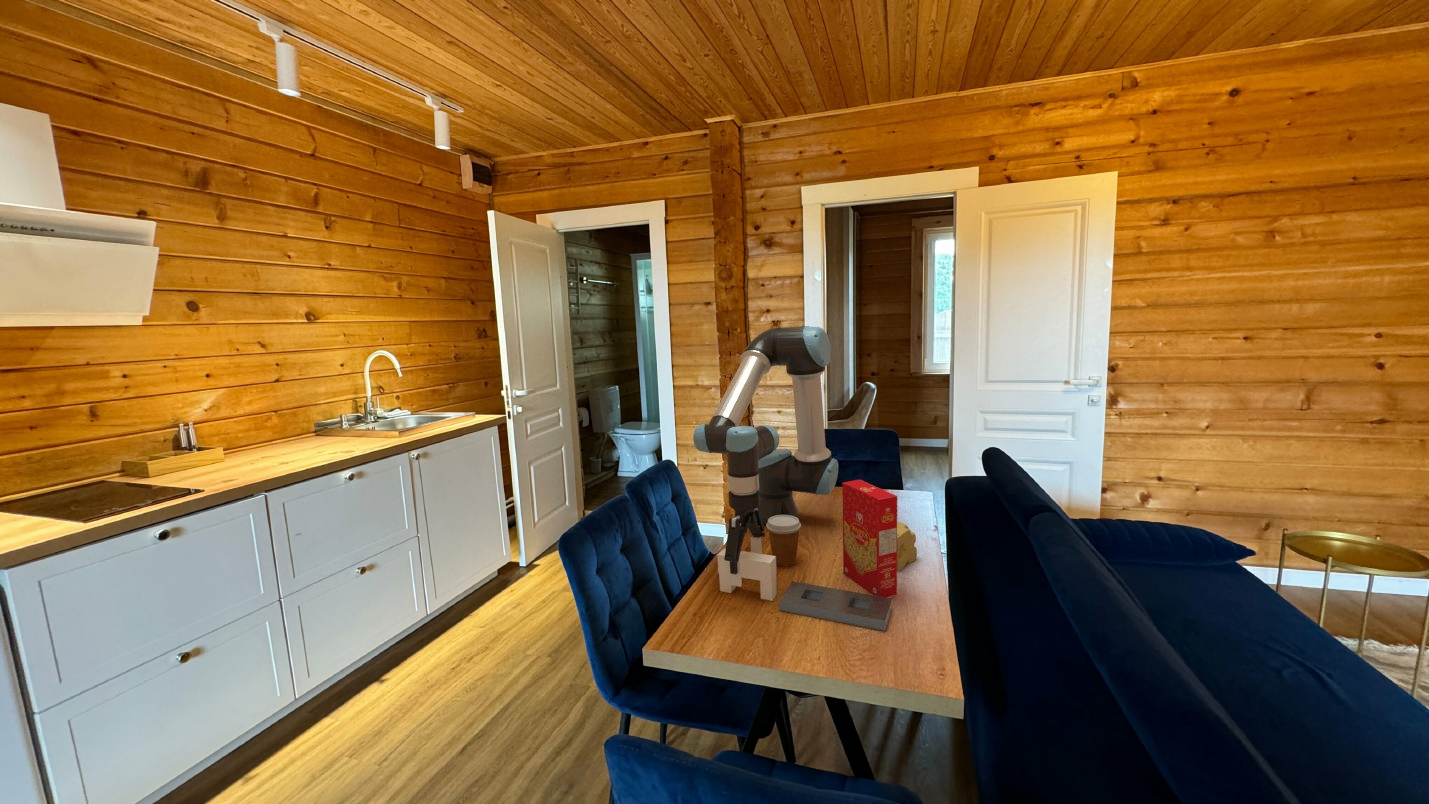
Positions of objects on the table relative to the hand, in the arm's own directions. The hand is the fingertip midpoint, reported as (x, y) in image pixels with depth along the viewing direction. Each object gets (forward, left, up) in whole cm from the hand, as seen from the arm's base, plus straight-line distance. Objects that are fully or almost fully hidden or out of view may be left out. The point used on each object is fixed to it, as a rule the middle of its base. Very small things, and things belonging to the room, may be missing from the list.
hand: (746, 572), depth 138 cm
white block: (0, 0, -5) cm, 5 cm away
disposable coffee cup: (-20, +3, -6) cm, 21 cm away
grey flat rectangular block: (0, +22, -5) cm, 23 cm away
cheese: (-30, +30, -6) cm, 43 cm away
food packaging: (-15, +27, -6) cm, 31 cm away
